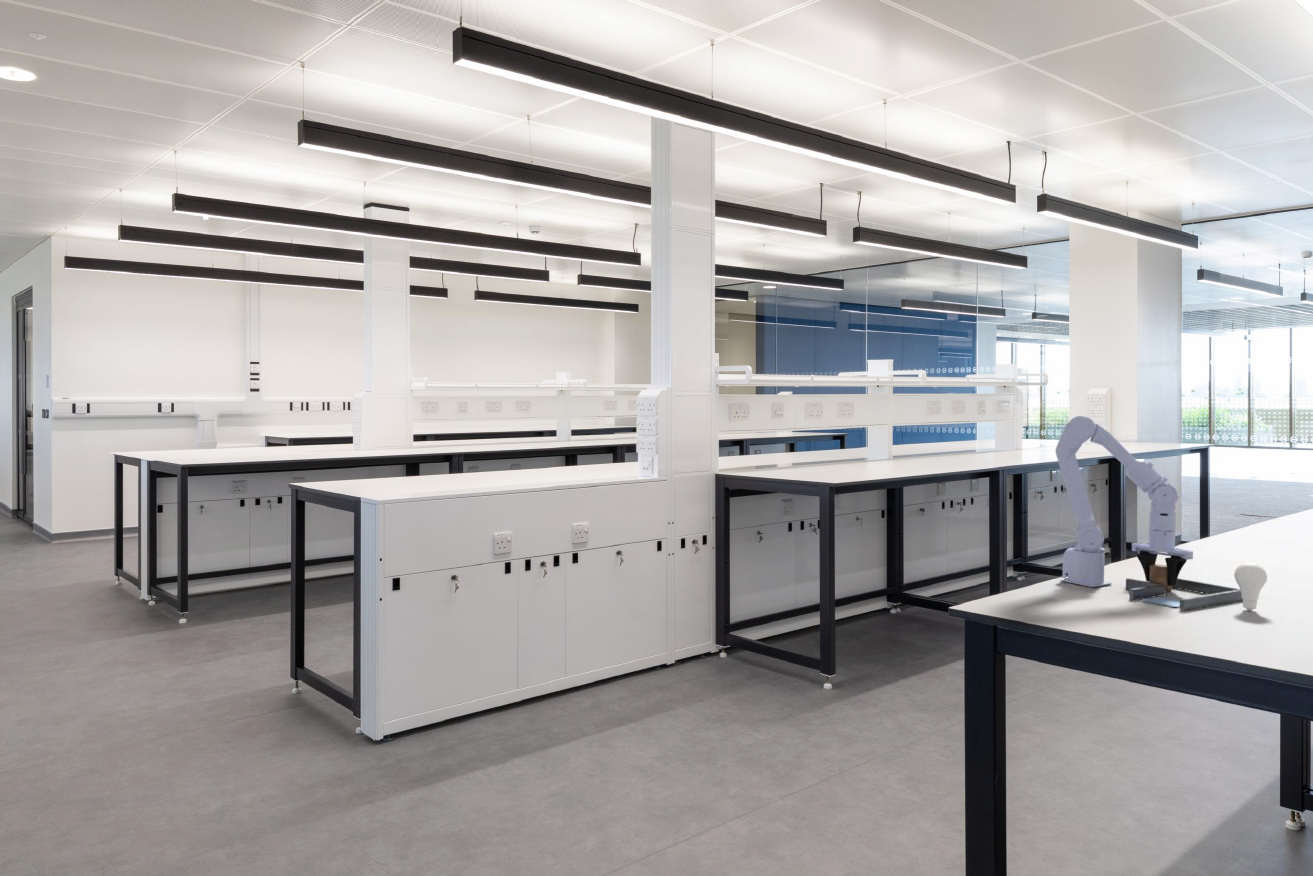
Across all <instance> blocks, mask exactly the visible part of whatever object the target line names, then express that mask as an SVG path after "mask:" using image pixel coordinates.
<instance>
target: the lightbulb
mask: <svg viewBox="0 0 1313 876" xmlns="http://www.w3.org/2000/svg"><path fill="white" fill-rule="evenodd" d="M1234 580H1235V582H1236V583H1237V585H1238V587H1239V589H1240V590H1241V595H1242V598H1243V601H1242V607H1243V608H1244V609H1246V611H1248V612H1249V611H1254V610H1255V609H1257V605H1258V604H1257V603H1258V600H1259V597H1260V593H1261V590H1262V589H1263V587H1264V586H1265V584H1266V583H1267V580H1268V575H1267V572H1266V570H1265V568H1263V566H1261V565H1260V564H1258V563H1254V562H1244V563H1241V564H1239V565H1238V566H1237V567H1236V569H1235V570H1234Z"/></svg>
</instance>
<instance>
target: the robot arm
mask: <svg viewBox="0 0 1313 876" xmlns="http://www.w3.org/2000/svg"><path fill="white" fill-rule="evenodd" d="M1089 439H1090V440H1089ZM1088 440H1089V441H1090V442H1091V443H1094V444H1097V445H1100V446H1102V447H1103V448H1104V449H1106V451H1108V452H1109V453H1110V454H1111V455H1112V456H1113V457H1115V459H1116V460H1118V461H1119V462H1120V463H1121V464H1122V465H1123V466H1124V467H1125V473H1124V474H1125V476H1126V477H1128V479H1129V480H1131V481H1132V482H1133V484H1135V485H1136V486H1137V487H1138V489H1140V490H1141V491H1142V492H1143V493H1146V494H1147V495H1148V498H1149V500H1150V511H1149V523H1148V525H1149V527H1148V528H1149V529H1148V543H1138V542H1135V543H1133V542H1132V543H1131V551H1132V552H1139V553H1137V554H1136V557H1137V559H1138V560H1139V563H1140V565H1141V568H1142V569H1143V572H1144V577H1145V581H1146V582H1149V576H1150V565H1153V564H1156V561H1157V557H1158V555H1161V556H1164V557H1165V556H1167V557H1165V558H1164V560H1165V565H1167V571H1168V578H1167V582H1168V585H1169V586H1174V585H1175V584H1176V581H1177V578H1179V575H1180V572H1181V570H1182V569H1183V567H1184V566H1185V564H1186V563H1187V560H1193V559H1194V551H1193V550H1187V549H1182V548H1177V547H1176V521H1177V520H1176V517H1177V514H1176V509H1177V508H1176V503H1177V502H1178V500H1179V497H1180V496H1179V495H1178V492H1177V489H1176V488H1175V487H1174V486H1172V485H1171V483H1169V482H1167V481H1168V478H1167V477H1166V476H1162V475H1161V474H1160V473H1159V472H1158V471H1157V470H1155V468H1153V466H1154V464H1153V463H1152V462H1151V461H1146V460H1145V459H1142V458H1141V459H1137V458H1135V457H1134V456H1133V455H1132V454H1131V453H1130V452H1129V451H1128V450H1127V449H1126V448H1125V447H1124V446H1123V445H1122V444H1121V443H1120V442H1119V441H1118V439H1116V438H1115V436H1114V435H1112V434H1111V433H1110V432H1109V431H1108V430H1106V429H1105V428H1104V427H1102V426H1101V425H1099V424H1098V423H1095V422H1094V420H1093V419H1091V418H1090V417H1088V416H1085V415H1077V416H1074V417H1073V418H1071V419H1070V420H1069V422H1067V424H1066V425H1065V426H1064V427H1063V430H1062V433H1061V435H1060V437H1059V440H1058V443H1057V445H1056V447H1055V455H1056V459H1057V462H1058V466H1059V469H1060V472H1061V476H1062V480H1063V482H1064V485H1065V489H1066V493H1067V497H1068V500H1069V504H1070V507H1071V511H1072V513H1073V516H1074V521H1075V524H1076V530H1075V537H1076V538H1075V539H1076V542H1077V543H1076V544H1075V545H1074V546H1073V547H1068V548H1067V549H1066V550H1065V551H1064V552H1063V555H1062V579H1063V578H1065V579H1064V580H1061V579H1060V581H1061V582H1067V583H1070V584H1075V585H1079V586H1084V587H1091V588H1096V587H1102V586H1103V587H1104V586H1110V585H1112V582H1110V581H1105V556H1106V555H1105V553H1106V551H1105V548H1103V547H1102V546H1103V544H1104V541H1105V536H1104V533H1103V532H1102V529H1101V528H1100V526H1098V525H1097V524H1096V520H1095V516H1094V513H1093V511H1092V507H1091V503H1090V500H1089V497H1088V494H1087V491H1086V490H1087V489H1086V487H1085V483H1084V480H1083V476H1082V472H1081V470H1080V465H1079V463H1078V459H1077V455H1076V454H1077V452H1078V451H1079V450H1080V448H1081V447H1082V445H1083V444H1084V443H1086V442H1087V441H1088ZM1066 577H1068V578H1066Z"/></svg>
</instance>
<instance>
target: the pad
mask: <svg viewBox="0 0 1313 876" xmlns="http://www.w3.org/2000/svg"><path fill="white" fill-rule="evenodd" d="M1144 601H1146V602H1145V603H1149V602H1150V604H1153V603H1156V604H1155V605H1158V604H1161V605H1160V606H1163V605H1166V606H1165V607H1168V606H1171V607H1170V608H1173V607H1179V608H1180V599H1176V598H1172V597H1167V596H1157V597H1151V598H1144V599H1141V602H1144Z"/></svg>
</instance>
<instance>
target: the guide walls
mask: <svg viewBox="0 0 1313 876" xmlns="http://www.w3.org/2000/svg"><path fill="white" fill-rule="evenodd" d="M1173 587H1176V588H1175V589H1178V588H1181V589H1180V590H1183V589H1187V590H1186V591H1188V590H1191V591H1190V592H1194V591H1197V592H1196V593H1199V592H1203V593H1202V594H1203V595H1197V596H1192V597H1185V598H1179V600H1180V607H1179V610H1180V609H1181V610H1180V611H1182V610H1186V611H1190V610H1189V609H1192V610H1196V608H1198V609H1202V607H1204V608H1208V607H1207V606H1209V607H1214V605H1215V606H1220V604H1221V605H1226V604H1230V603H1231V604H1232V603H1237V601H1238V602H1243V598H1242V595H1241V590H1240V588H1235V587H1230V586H1226V585H1219V584H1214V583H1213V584H1212V583H1208V582H1202V581H1198V580H1190V579H1185V578H1180V577H1178V578H1177V581H1176V584H1175V585H1174V586H1172V588H1173ZM1127 588H1128V589H1127ZM1125 589H1127V590H1129V593H1128V594H1129V597H1128V598H1129V600H1131V601H1137V599H1138V600H1144V599H1150V597H1151V598H1154V597H1153V596H1157V597H1159V596H1158V595H1163V596H1165V595H1166V592H1165V585H1162V584H1156V583H1151V582H1147V581H1146V580H1145V581H1144V580H1139V579H1134V578H1130V577H1129V578H1125ZM1204 593H1208V594H1204ZM1164 594H1165V595H1164ZM1143 598H1144V599H1143Z"/></svg>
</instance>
